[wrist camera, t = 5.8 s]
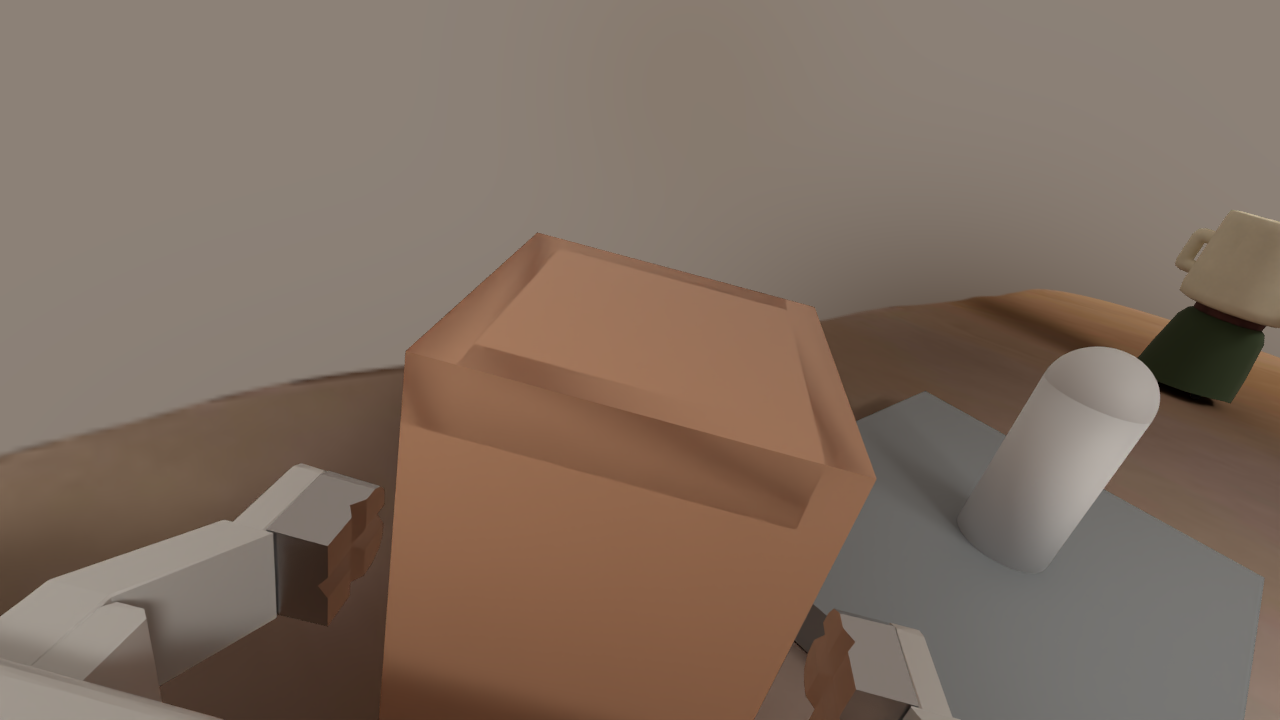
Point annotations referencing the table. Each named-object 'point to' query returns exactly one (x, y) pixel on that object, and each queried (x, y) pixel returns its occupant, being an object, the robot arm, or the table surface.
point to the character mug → (1221, 308)
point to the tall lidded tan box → (612, 495)
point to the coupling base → (1044, 626)
